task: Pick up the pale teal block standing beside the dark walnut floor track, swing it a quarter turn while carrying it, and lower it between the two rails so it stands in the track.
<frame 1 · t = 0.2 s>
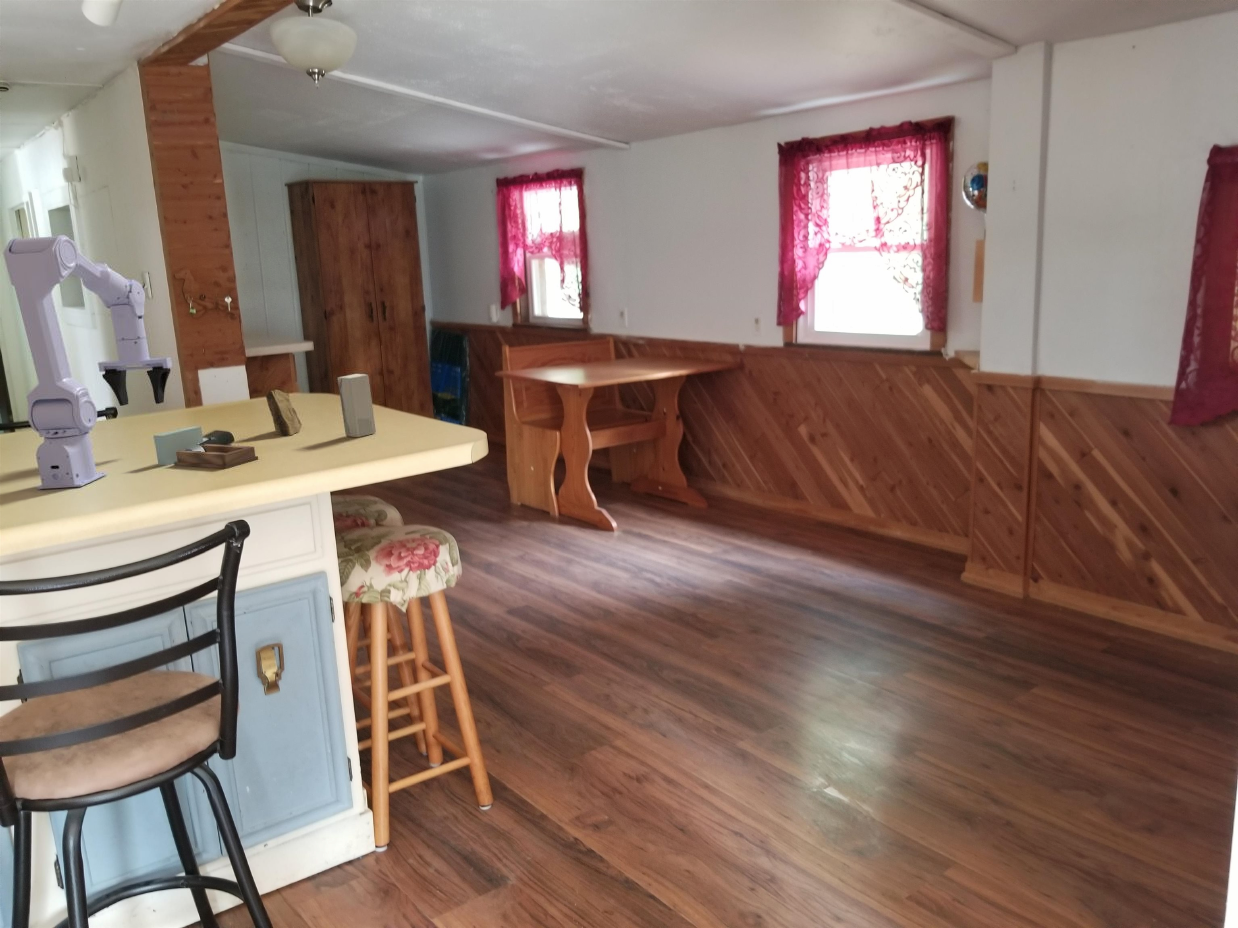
hand: (142, 404, 200), 10 cm above the table, fingers open, 7 cm apart
floor track: (216, 462, 186), on the table
box: (360, 435, 206), on the table
pale teal block: (182, 460, 190), on the table
rock: (292, 432, 215), on the table
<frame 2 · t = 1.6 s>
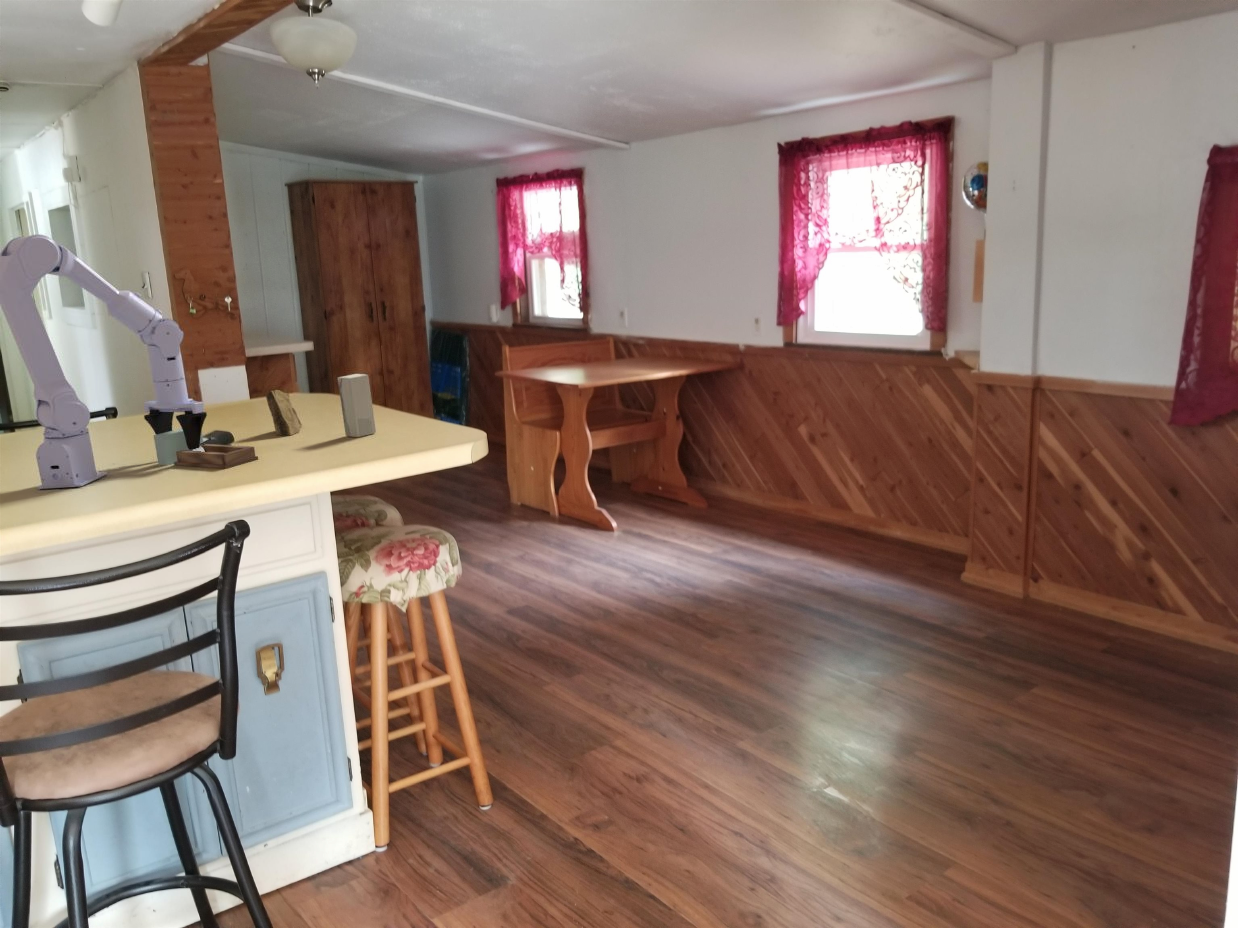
hand: (180, 447, 190), 2 cm above the table, fingers open, 7 cm apart
nothing on the table moved.
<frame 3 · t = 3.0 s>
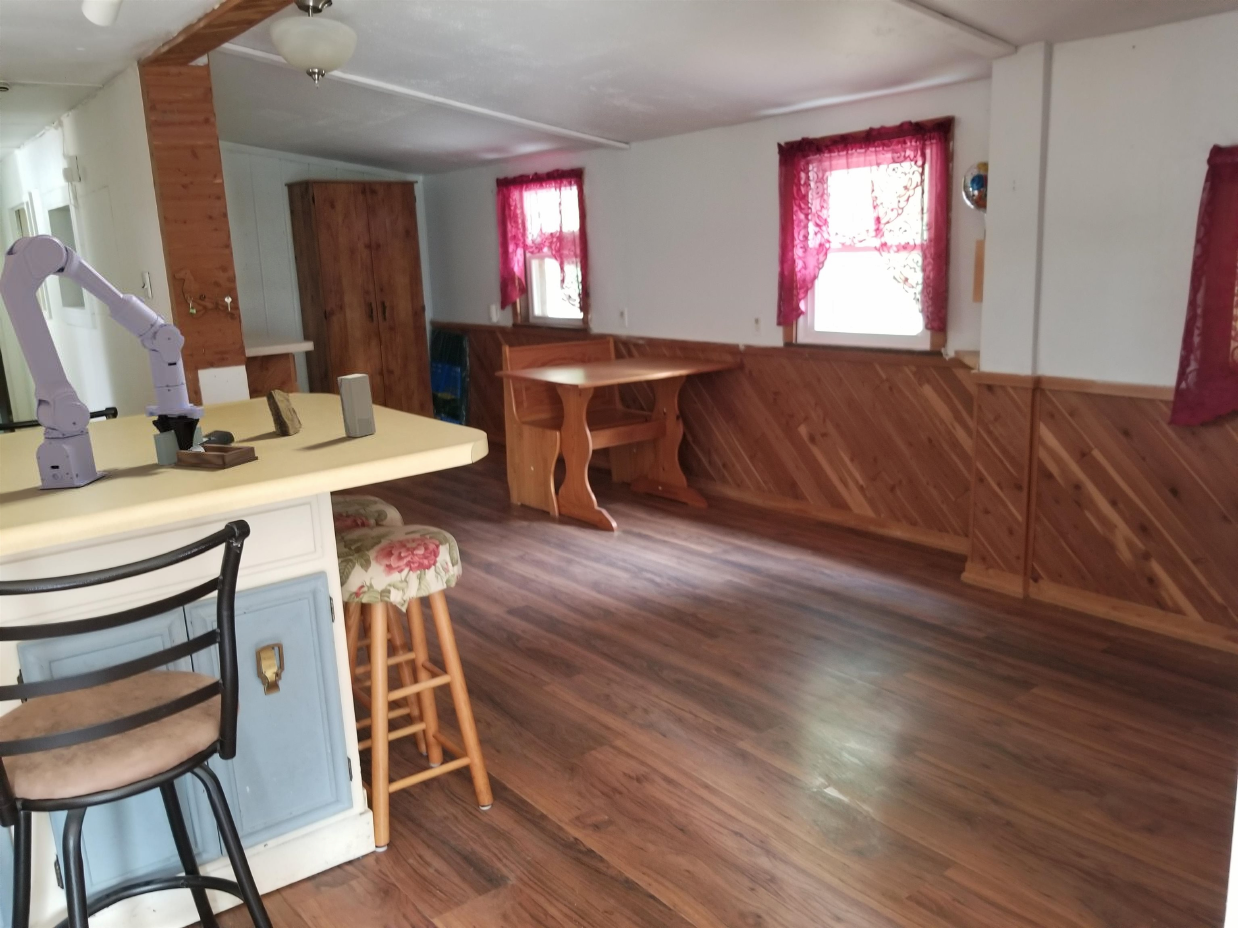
hand: (181, 453, 190), 1 cm above the table, fingers closed on pale teal block, 3 cm apart
pale teal block: (182, 460, 190), on the table, touching gripper
everything else where it was.
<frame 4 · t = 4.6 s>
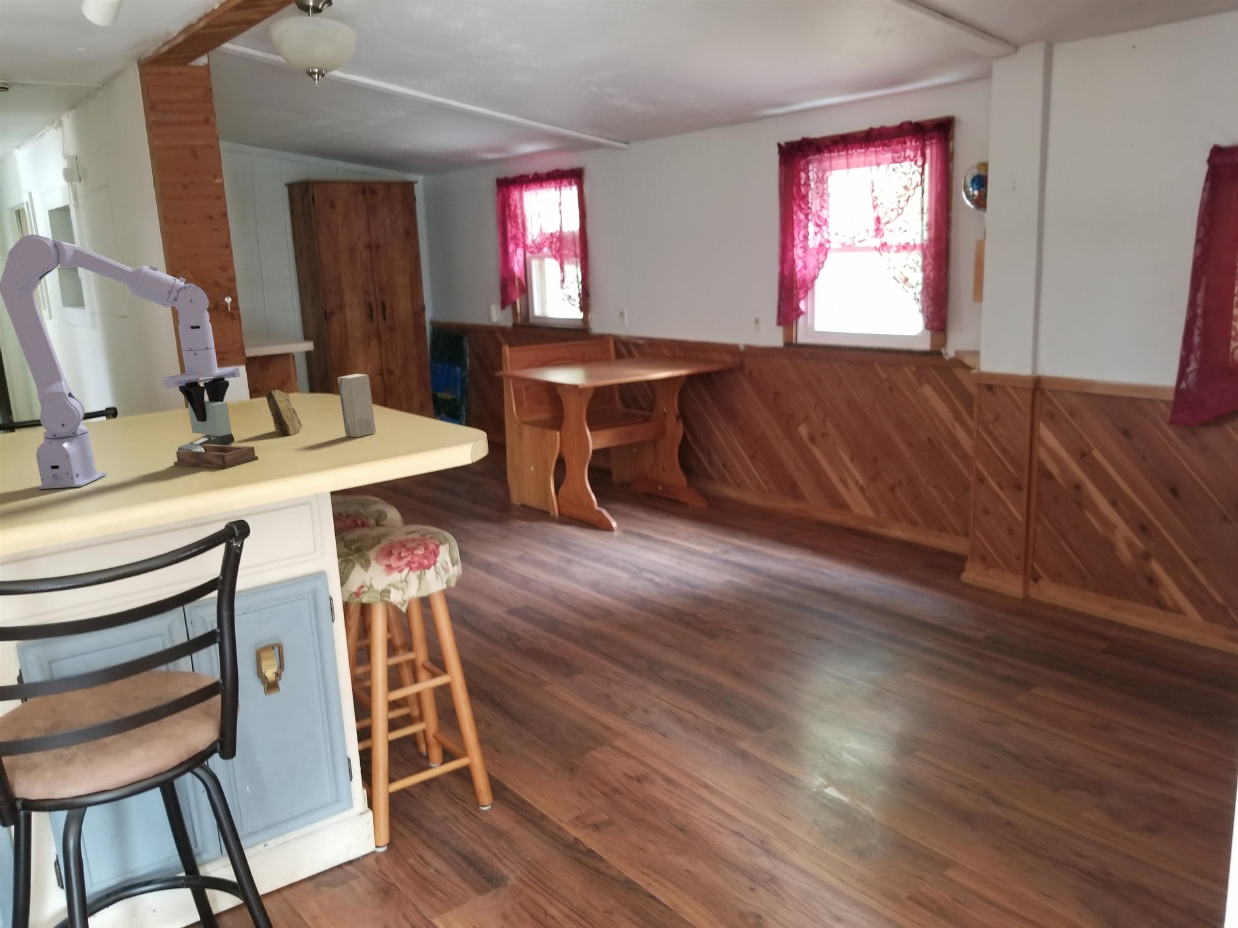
hand: (209, 419, 184), 8 cm above the table, fingers closed on pale teal block, 3 cm apart
pale teal block: (211, 433, 185), point 6 cm above the table, touching gripper
everything else where it was.
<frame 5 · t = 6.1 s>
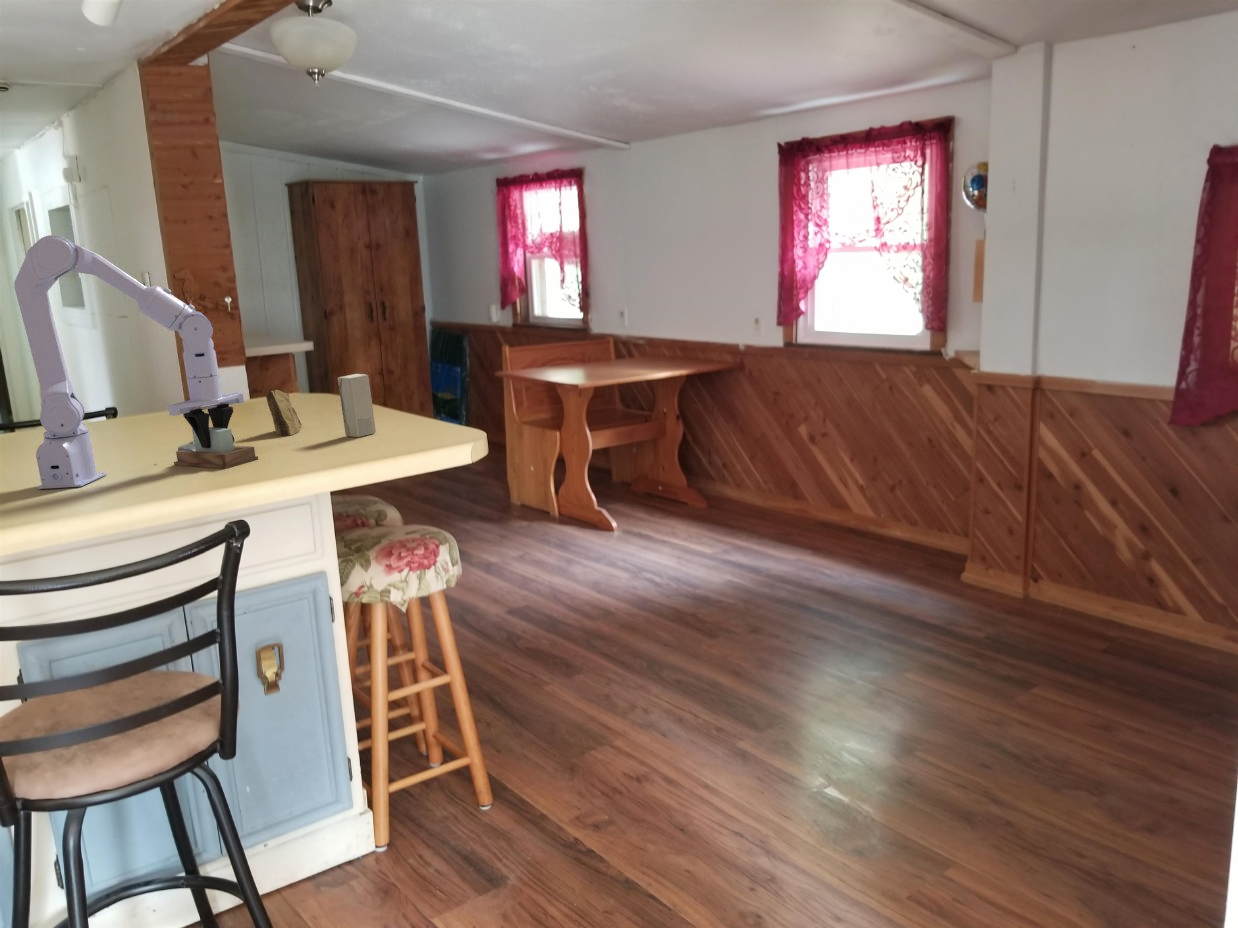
hand: (213, 445, 185), 3 cm above the table, fingers closed on pale teal block, 3 cm apart
pale teal block: (216, 459, 186), point 1 cm above the table, touching floor track, gripper
everything else where it was.
when the fingers open (3 cm above the table, at t = 6.5 s): pale teal block stays where it is, resting on floor track.
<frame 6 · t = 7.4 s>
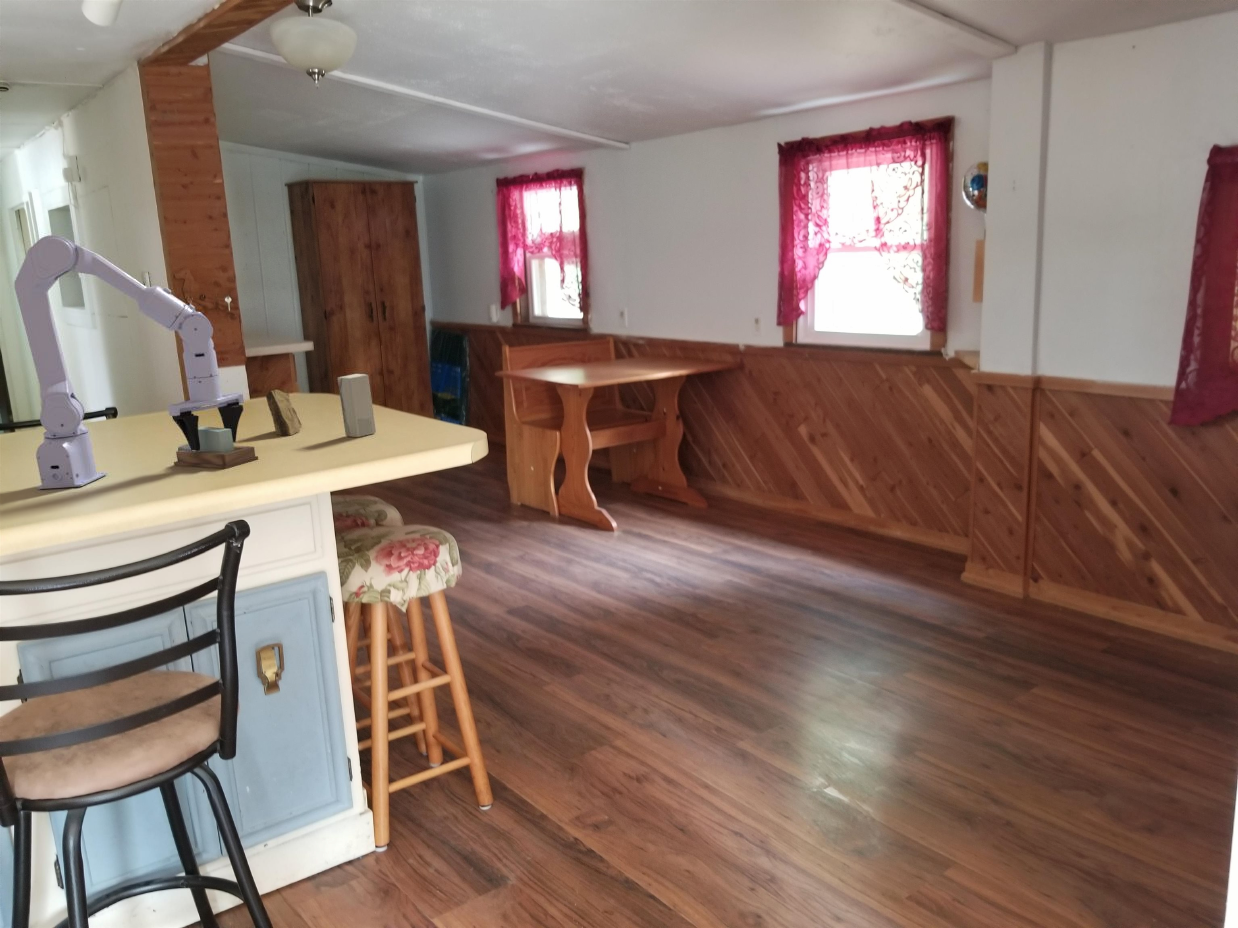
hand: (213, 446, 185), 3 cm above the table, fingers open, 7 cm apart
pale teal block: (216, 459, 186), point 1 cm above the table, touching floor track
everything else where it was.
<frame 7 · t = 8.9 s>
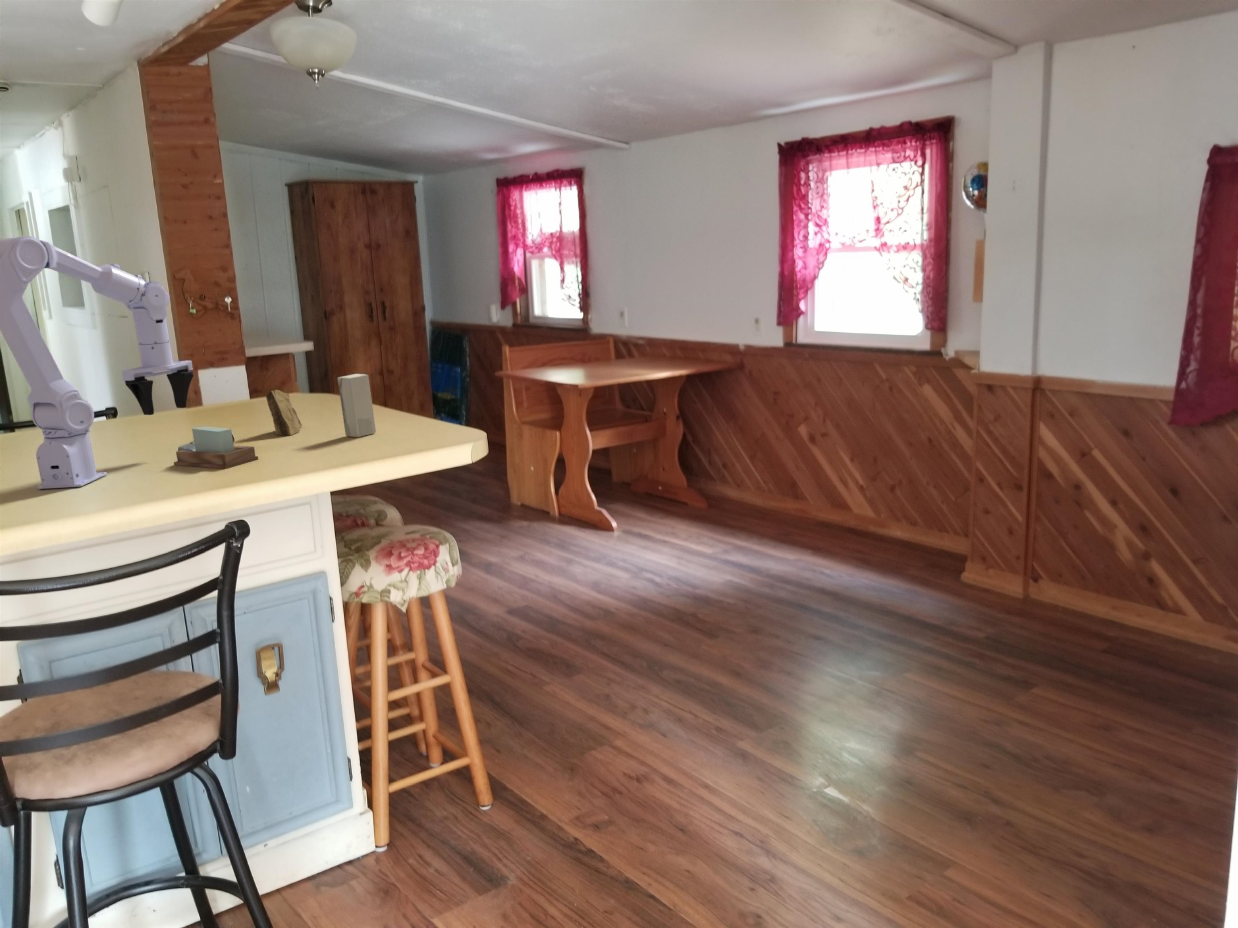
hand: (165, 411, 192), 9 cm above the table, fingers open, 7 cm apart
nothing on the table moved.
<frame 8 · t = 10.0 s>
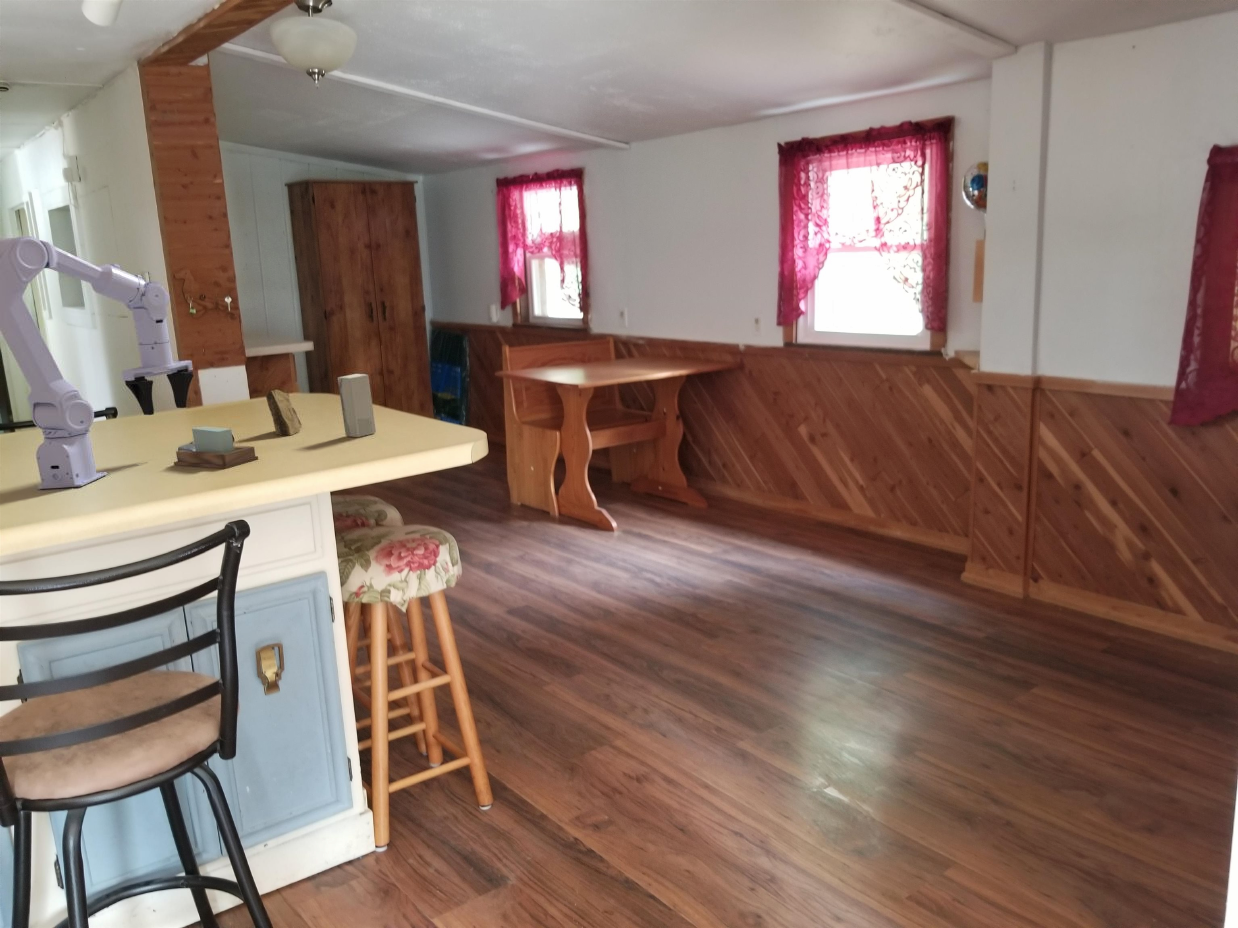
hand: (165, 411, 192), 9 cm above the table, fingers open, 7 cm apart
nothing on the table moved.
at the end: pale teal block 0.1 cm from the floor track (horizontally); pale teal block point 0.6 cm above the table; pale teal block tilted 0° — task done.
